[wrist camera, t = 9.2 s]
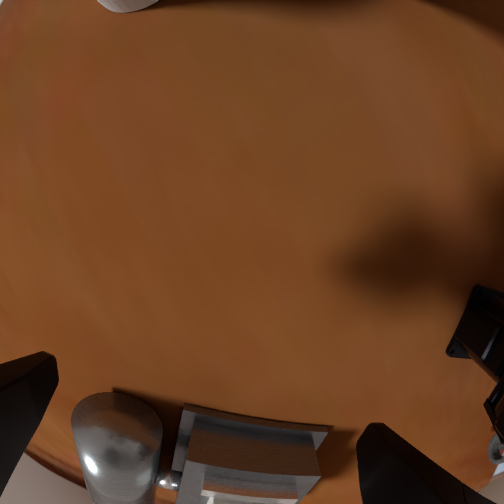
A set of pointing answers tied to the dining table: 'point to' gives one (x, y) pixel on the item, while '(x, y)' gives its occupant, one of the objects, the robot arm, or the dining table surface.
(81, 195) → the dining table surface
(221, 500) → the white knobbed block
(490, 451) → the tankard
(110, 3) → the coffee cup
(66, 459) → the dining table surface
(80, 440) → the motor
